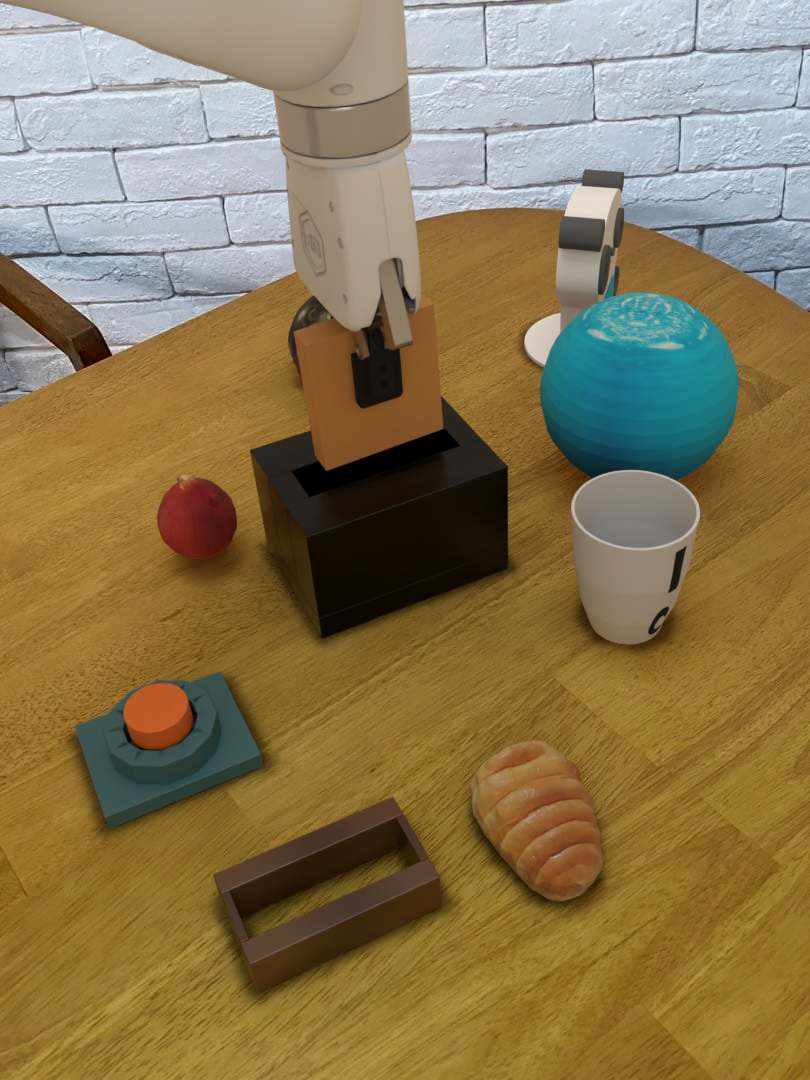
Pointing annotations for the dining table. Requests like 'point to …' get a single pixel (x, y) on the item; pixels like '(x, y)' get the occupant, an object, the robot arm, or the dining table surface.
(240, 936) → the brown rectangular frame
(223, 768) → the block
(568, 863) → the pastry
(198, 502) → the onion
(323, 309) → the brown mottled ceramic figure
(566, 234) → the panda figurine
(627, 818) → the dining table surface
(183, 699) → the button
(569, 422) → the decorative orb
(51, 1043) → the dining table surface
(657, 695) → the dining table surface
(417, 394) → the toast
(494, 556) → the toaster
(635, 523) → the cup
